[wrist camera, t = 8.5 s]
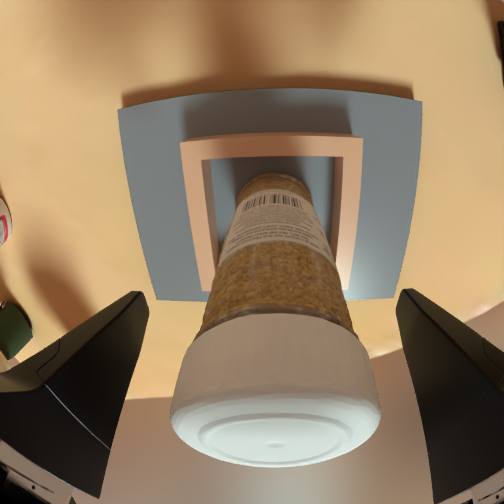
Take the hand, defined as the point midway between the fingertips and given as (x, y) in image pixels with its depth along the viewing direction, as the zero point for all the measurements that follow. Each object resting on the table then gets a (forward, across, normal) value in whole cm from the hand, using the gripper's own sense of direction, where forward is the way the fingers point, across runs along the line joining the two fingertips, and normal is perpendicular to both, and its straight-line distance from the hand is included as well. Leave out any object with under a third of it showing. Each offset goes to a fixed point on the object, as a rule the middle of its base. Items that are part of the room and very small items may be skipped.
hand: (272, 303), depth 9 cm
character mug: (+10, +33, +13) cm, 37 cm away
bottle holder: (+10, 0, 0) cm, 10 cm away
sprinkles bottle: (+9, 0, 0) cm, 9 cm away
